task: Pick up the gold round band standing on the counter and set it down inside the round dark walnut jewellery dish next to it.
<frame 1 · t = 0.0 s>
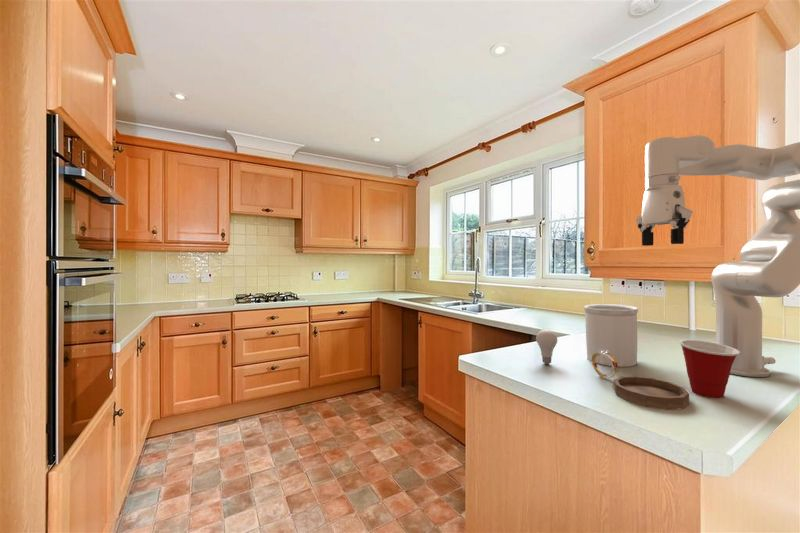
hand: (661, 244, 96), 37 cm above the worktop, tool pointing down, fingers open, 9 cm apart
plastic cup: (708, 395, 82), on the worktop
ring dish: (649, 396, 82), on the worktop
lightbulb: (546, 364, 107), on the worktop
utensil holder: (610, 361, 110), on the worktop
gold round band: (604, 379, 94), on the worktop
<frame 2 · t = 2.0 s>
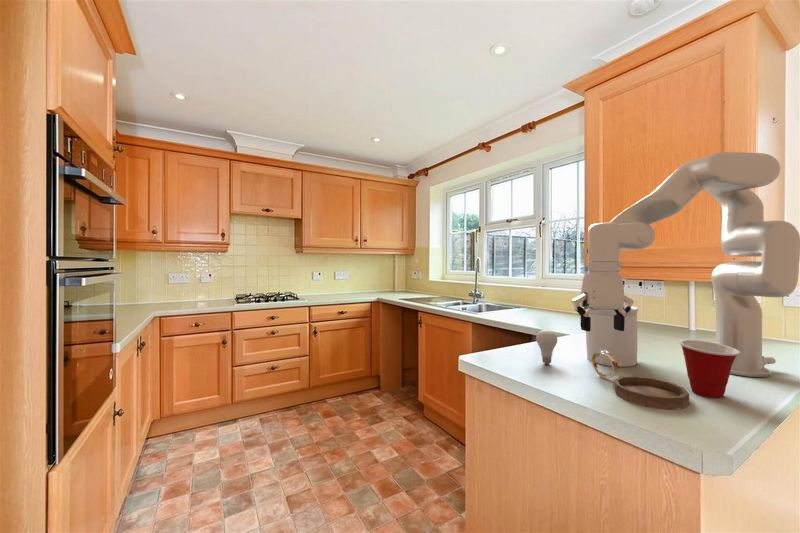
hand: (602, 330, 94), 13 cm above the worktop, tool pointing down, fingers open, 9 cm apart
nothing on the worktop moved.
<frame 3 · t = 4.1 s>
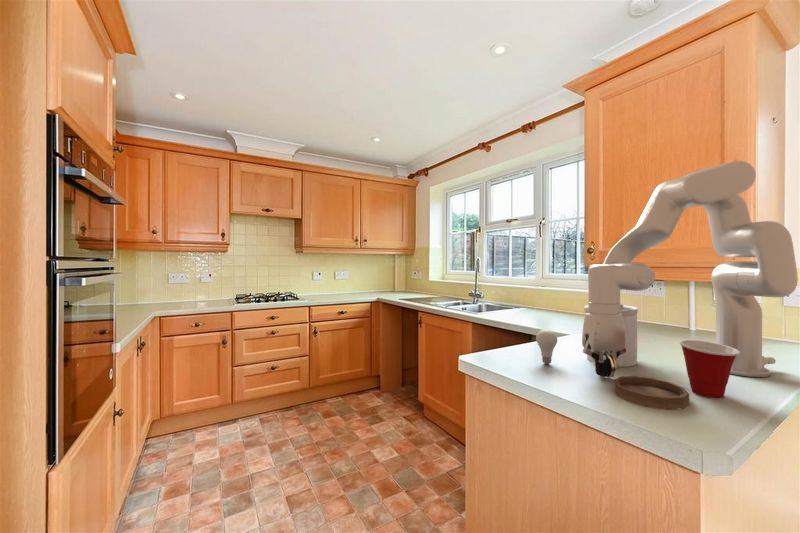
hand: (604, 375, 94), 1 cm above the worktop, tool pointing down, fingers closed on gold round band
gold round band: (604, 378, 94), on the worktop, touching gripper
everything else where it was.
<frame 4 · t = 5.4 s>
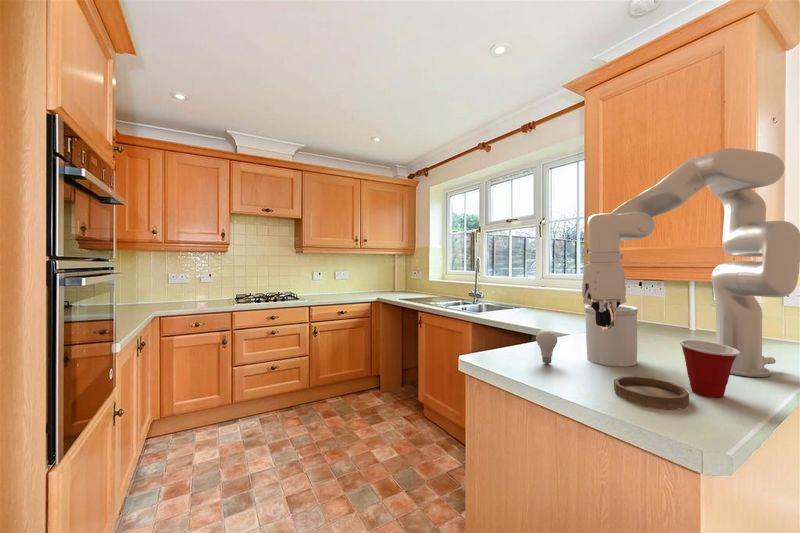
hand: (604, 325, 94), 15 cm above the worktop, tool pointing down, fingers closed on gold round band
gold round band: (604, 330, 94), point 13 cm above the worktop, touching gripper
everything else where it was.
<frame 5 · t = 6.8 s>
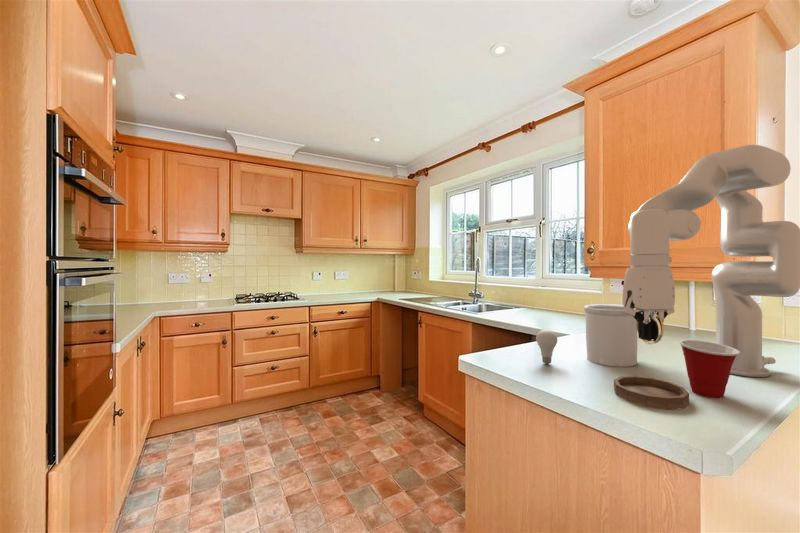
hand: (649, 338, 81), 14 cm above the worktop, tool pointing down, fingers closed on gold round band
gold round band: (649, 344, 81), point 12 cm above the worktop, touching gripper
everything else where it was.
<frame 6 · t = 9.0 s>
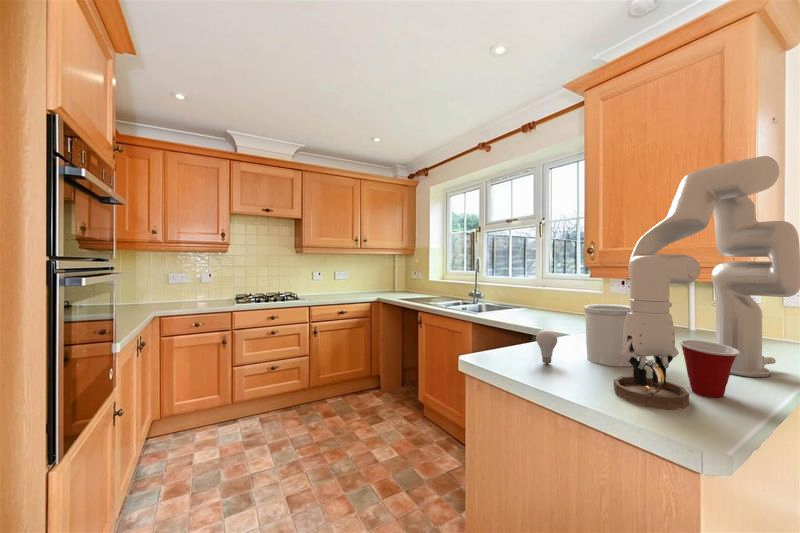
hand: (649, 382, 81), 3 cm above the worktop, tool pointing down, fingers open, 4 cm apart
gold round band: (650, 393, 82), point 1 cm above the worktop, touching ring dish
everything else where it was.
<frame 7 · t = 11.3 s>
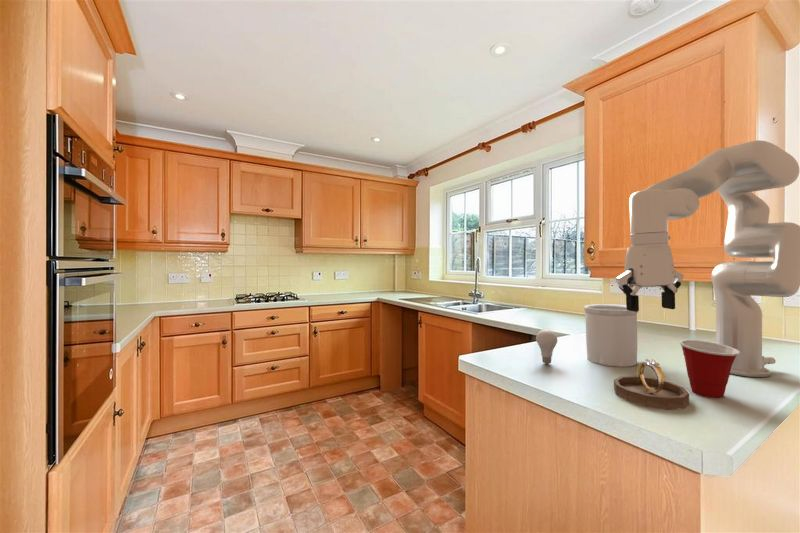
hand: (650, 309, 85), 20 cm above the worktop, tool pointing down, fingers open, 9 cm apart
nothing on the worktop moved.
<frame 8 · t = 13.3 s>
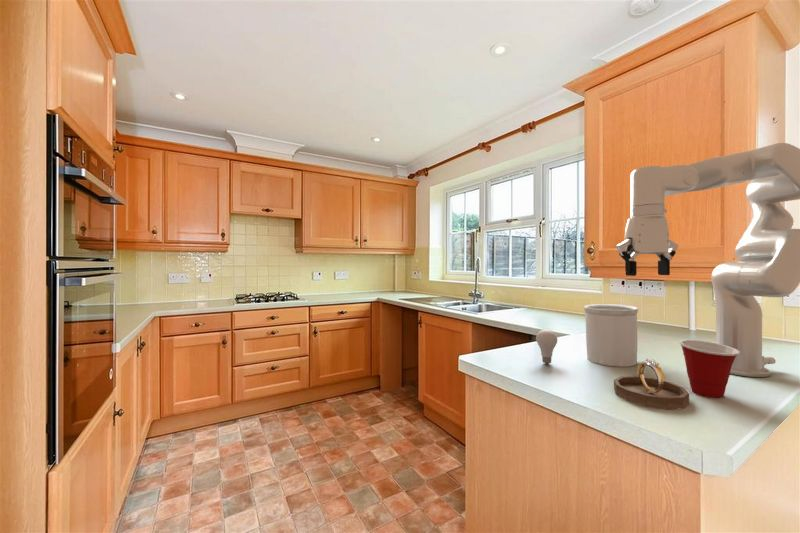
hand: (647, 275, 94), 28 cm above the worktop, tool pointing down, fingers open, 9 cm apart
nothing on the worktop moved.
at the end: gold round band inside the target area on the ring dish (0.3 cm from its centre), point 0.6 cm above the ring dish's base; gold round band point 0.6 cm above the worktop; the gripper is holding nothing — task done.
